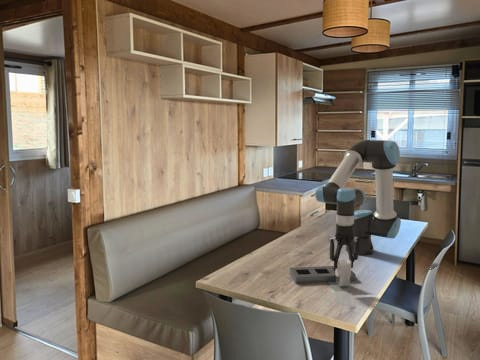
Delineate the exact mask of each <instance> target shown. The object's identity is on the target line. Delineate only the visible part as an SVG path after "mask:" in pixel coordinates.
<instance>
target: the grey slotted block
mask: <svg viewBox="0 0 480 360" xmlns="http://www.w3.org/2000/svg"><path fill="white" fill-rule="evenodd" d="M335 270H336V269H335V268H334V265H325V266H323V265H322V266H301V267H300V266H299V267H289V275H290V276H291V278H292V281H293V282H294V283H295V285H300V284H318V283H319V284H320V283H328V282H336V274H335ZM356 275H357V274H356V273H355V272H354V271H353V270H352V269H351V276H350V282H356V278H357V277H356Z"/></svg>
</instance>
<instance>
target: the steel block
mask: <svg viewBox="0 0 480 360" xmlns="http://www.w3.org/2000/svg"><path fill="white" fill-rule="evenodd" d="M347 260H348V259H347ZM347 260H338V261H339V262H340V265H339V277H337V276H336V283H337V284H338V285H339V286H350V283H351V281H350V265H351V264H350V263H349V262H348V261H347Z"/></svg>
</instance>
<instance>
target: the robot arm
mask: <svg viewBox="0 0 480 360" xmlns="http://www.w3.org/2000/svg"><path fill="white" fill-rule="evenodd" d="M400 153H401V152H400V147H399V145H398V143H397V142H396V141H393V140H385V139H384V140H382V139H381V140H379V139H377V140H375V139H373V140H372V139H364V140H359V141H358V142H356V143H355V144H353V145H352V146H350V147H349V148H348V149H347V150H346V151H345V153H344V156H343V159H342V161H341V162H340V164H339V165H338V167H337V168H336V170H334V173H332V175H331V177H330V178H329V179H328V181H327V182H326V184H325V185H320V186H318V187H316V190H315V194H314V196H315V200H316V201H317V202H320V203H324V204H332V205H336V218H335V219H336V220H335V222H336V224H335V235H334V236H333V237H329V238H328V241H329V260H330V261H332V262H333V266H334V268H335V269H336V270H335V274H336V276H337V277H339V265H340V262H339V261H340V260H339V258H340V255H341V251H342V248H343V246H345V251H346V252H347V254H348V259H347V261H348V262H349V263H350V264H351V265H350V276H351V270H352V269H353V268H354V263H355V261H357V260H359V256H360V255H361V256H366V255H367V256H368V255H371V254H374V252H375V251H374V249H375V247H374V245H373V241H372V236H374V237H381V238H386V239H395V238H396V237H397V236H398V234H399V232H400V228H401V224H402V222H401V221H402V220H401V218H400V217H397V214H398V213H397V212H396V211H395V210H394V177H393V176H394V173H393V170H394V169H395V168H396V166H397V165H398V164H399V162H400V157H401V154H400ZM362 163H371V168H372V169H373V170H374V171H375V172H374V175H375V177H374V178H375V201H376V203H375V206H376V211H374V212H373V210H370V209H359V210H355V208H357V207H360V206H361V205H362V206H363V204H364V203H365V202H366V200H367V195H366V194H367V193H365V191H364V190H363V189H361V188H352V187H345V185H346V183H348V181H349V180H350V178H351V176H352V175H353V173H354V172H355V170H356V169H357V167H359V166H361V164H362ZM335 242H336V248H335Z"/></svg>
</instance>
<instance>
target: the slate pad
mask: <svg viewBox="0 0 480 360" xmlns="http://www.w3.org/2000/svg"><path fill="white" fill-rule="evenodd" d="M327 283H328V285H330V287H331V288H332V289H333V291H335V292H352V291H354V292H355V291H358V289H357V288H356V287H355V286H354V285H353V284H352V282H350V286H339V285H338V284H337V283H336V282H327Z"/></svg>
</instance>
